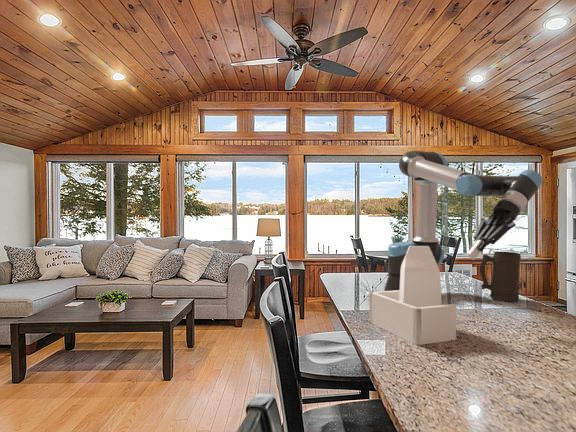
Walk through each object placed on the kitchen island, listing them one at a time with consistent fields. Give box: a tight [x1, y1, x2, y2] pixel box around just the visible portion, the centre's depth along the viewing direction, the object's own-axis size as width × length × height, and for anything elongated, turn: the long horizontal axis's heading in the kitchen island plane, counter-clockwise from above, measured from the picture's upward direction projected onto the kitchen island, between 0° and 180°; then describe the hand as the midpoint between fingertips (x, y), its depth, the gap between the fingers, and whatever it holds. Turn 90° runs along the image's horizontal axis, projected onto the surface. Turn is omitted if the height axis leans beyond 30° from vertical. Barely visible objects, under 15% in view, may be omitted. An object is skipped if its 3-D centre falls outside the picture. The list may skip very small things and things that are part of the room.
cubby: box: [368, 290, 457, 346], centre depth 123 cm, size 25×14×10 cm, turn 19°
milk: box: [399, 246, 443, 307], centre depth 126 cm, size 12×12×26 cm
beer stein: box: [479, 251, 522, 303], centre depth 166 cm, size 15×11×20 cm
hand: (470, 256), depth 131 cm, fingers closed
